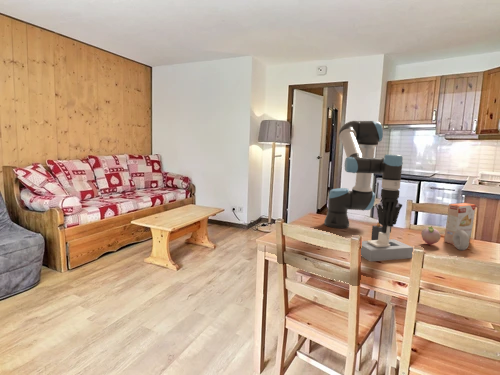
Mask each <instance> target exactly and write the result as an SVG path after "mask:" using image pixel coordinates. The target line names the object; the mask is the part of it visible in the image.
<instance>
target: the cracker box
mask: <svg viewBox="0 0 500 375" xmlns="http://www.w3.org/2000/svg"><path fill="white" fill-rule="evenodd" d="M476 207H477V205H476V204H473V203H468V202H461V203H449V204H448V209H447V216H446V223H445V229H444V230H445V231H444V238H443V242H444V243H447V244H449V245H454V243H453V235H454V233H455V232H456V231H458V230H463V231H465V232H466V233H467V235H468V237H469V243H470V242H471V240H472V239H471V237H472V232H473V225H474V219H475V213H476ZM454 246H455V245H454Z"/></svg>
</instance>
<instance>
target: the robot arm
mask: <svg viewBox="0 0 500 375" xmlns="http://www.w3.org/2000/svg"><path fill="white" fill-rule="evenodd" d="M383 129H384V128H383V126H382V124H381V122H379V121H377V120H375V121H374V120H351V121H348V122H345V124H343V125H342V126H341V128H340V129H339V130H338V139H339V142H340V143H341V144H342V146H343V149H344V152H345V156H346V158H345V159H344V170H345V172H346V173H350V174H351V173H352V174H355V175H356V176H355V185H354V186H353V187H352V188H351V190H349V188H345V187H342V188H341V187H339V188H332V189H330V190H329V194H328V203H327V204H328V207H327V213H326V216H325V219H324V221H323V222H324V223H323V225H324V226H327V227H328V228H334V229H347V228H349V227H350V221H349V217H348V210H349V211H350V210H351V211H352V210H355V211H370V210H371V209H372V208H374V205H375V208H376V212H377V220H378V222H379V224H380V226H382V232H383V233H384V234H386V235H389V237H390V236H391V235H390V234H391V232H392V227H394V226H395V225H396V224H397V221H398V217H399V214H400V212H401V209H402V208H403V204H402V203H400V202H399V198H400V189H401V188H400V187H401V180H402V171H403V155H402V154H385V155H384V157H374V156H375V148H376V147H378V145H379V142H382V140H383V136H384V133H383V132H384V131H383ZM372 174H373V175H375V174H377V175H378V174H381V175H382V178H381V179H382V180H381V190H380V198H381V199H380V201H379V203H376V204H375V202H376V198H375V197H376V194H375V192H374V191H373V189H372V186H371V183H372V182H371V181H372Z"/></svg>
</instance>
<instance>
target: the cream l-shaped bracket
mask: <svg viewBox="0 0 500 375" xmlns="http://www.w3.org/2000/svg"><path fill="white" fill-rule="evenodd" d="M389 240H390V236H389V235H386V234H384V233H382V232H379V235H378V240H371V239H370V240H366V241H367V242H368V243H369V244H371V245H373V246H375V247H388V246H390V244H389Z"/></svg>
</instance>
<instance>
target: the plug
mask: <svg viewBox="0 0 500 375" xmlns="http://www.w3.org/2000/svg"><path fill="white" fill-rule="evenodd" d="M371 228H372V229H371V239H370V240H378V235H379V232H382V225H381V224H379V222H377V223H376V224H375V225H372V226H371ZM382 233H383V232H382Z"/></svg>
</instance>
